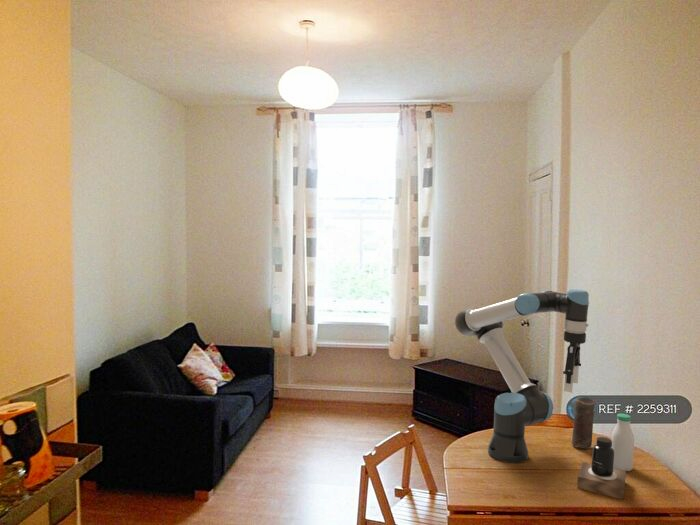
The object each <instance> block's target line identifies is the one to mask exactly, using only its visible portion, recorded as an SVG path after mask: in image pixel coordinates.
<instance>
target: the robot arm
mask: <svg viewBox="0 0 700 525" xmlns="http://www.w3.org/2000/svg"><path fill="white" fill-rule="evenodd" d="M589 295H590V294H589V292H588V291H587V290H583V289H572V288H571V289H568V290H567V291H566V293H563V292H557V291H552V290H542V291H541V292H525V293H522V294H519V295H518V296H517V297H512V298H510V299H507V300H504V301H501V302H497V303H493V304H490V305H487V306H483V307H481V308H469V309H467V308H466V309H463V310H461V311H459V312H458V313H457V314H456V316H455V319H454V324H455V327H456V330H457V331H458V332H459V333H460V334H461V335H464V336H468V337H471V336H473V337H474V336H476V338H477V339H478V341H479V342H480V343H481V344H484V345H485V346H486V348H487V351H488V352H489V355H490V356H491V357H492V359H493V360H494V363H495V366H497V368H498V370H499V372H500V373H501V375H502V377H503V379H504V381H505V382H506V384H507V386H508V388H509V389H510V392H504V393H500V394H499V395H497V396H496V397H495V399H494V404H493V406H494V407H493V410H494V411H493V433H492V436H491V439H490V441H489V444H488V447H487V453H488V455H489V456H490V457H492V458H493V459H495V460H498V461H501V462H505V463H510V464H511V463H512V464H513V463H514V464H515V463H516V464H518V463H524V462H526V461H527V460H528V459H529V450H528V445H527V443H526V438H525V429H526V428H525V427H527V426H531V425H535V424H536V425H537V424H542V423H544V422H546V421H548V420H549V419H550V418H551V417H552V416H553V412H554V411H553V410H554V403H553V400H552V398H551V397H550V395H549V394H548V393H547V392H545V391H540V389H539V388H538V386H537V384H535V383H533V382H531V381H530V379H529V378H528V376H527V374H526V373H525V371H524V369H523V367H522V366H521V363H520V362H519V361H518V359H517V358H516V355H515V354H514V352H513V350H512V349H511V347H510V345H509V344H508V342H507V340H506V338H505V336H504V334H503V333H504V328H503V327H504V323H503V322H505V321H509V320H513V319H514V320H515V319H517V318H520V317H521V318H522V317H524V316H529V315H533V314H539V313H550V312H551V313H553V312H554V313H559V314H560V313H561V314H565V315H564V316H565V318H564V331H563V341H564V342H566V343H569V344H568V346H567V354H566V361H565V368H564V371H562V374H563V375H564V384H563V385H564V387H563V392H566V393H573V387H574V384H578V382H579V372H580V371H579V369H580V367H582V363H581V360H580V359H581V344H583V345H584V344H585V343H586V339H587V334H586V332H587V327H589V324H588V312H589V306H590V305H589V304H590V302H589V301H590V300H589V297H590V296H589Z"/></svg>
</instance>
